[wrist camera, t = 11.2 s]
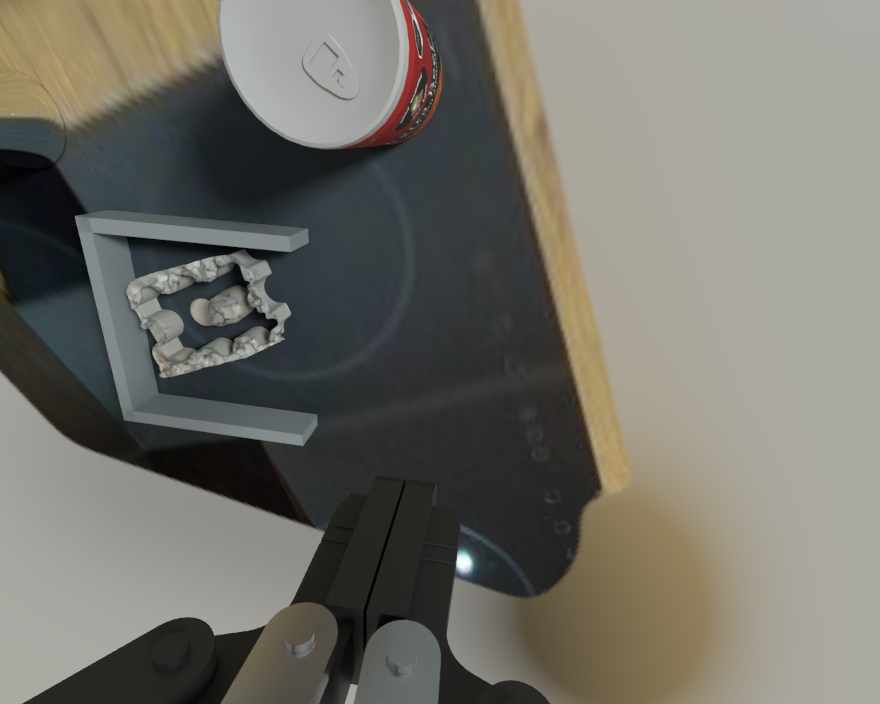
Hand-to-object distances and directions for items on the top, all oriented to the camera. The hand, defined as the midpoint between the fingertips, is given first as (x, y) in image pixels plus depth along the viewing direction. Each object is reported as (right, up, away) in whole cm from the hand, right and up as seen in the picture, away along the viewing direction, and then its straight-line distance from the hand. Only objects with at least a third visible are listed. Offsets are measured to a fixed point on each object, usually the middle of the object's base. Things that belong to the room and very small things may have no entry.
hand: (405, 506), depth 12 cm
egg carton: (-16, +8, +25) cm, 31 cm away
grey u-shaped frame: (-16, +6, +25) cm, 30 cm away
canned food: (-3, +21, +17) cm, 27 cm away
